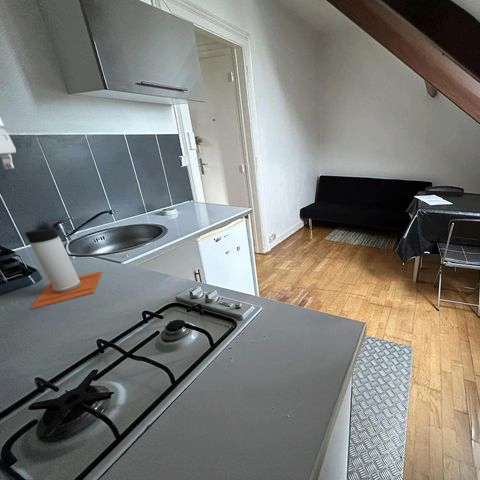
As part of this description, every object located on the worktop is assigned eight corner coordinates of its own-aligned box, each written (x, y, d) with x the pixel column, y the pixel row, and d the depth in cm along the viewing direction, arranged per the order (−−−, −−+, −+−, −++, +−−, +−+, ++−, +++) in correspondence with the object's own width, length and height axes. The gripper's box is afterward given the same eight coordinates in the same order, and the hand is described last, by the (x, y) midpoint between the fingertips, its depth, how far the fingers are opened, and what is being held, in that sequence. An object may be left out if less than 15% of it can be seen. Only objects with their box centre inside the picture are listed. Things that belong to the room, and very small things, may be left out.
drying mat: (31, 309, 73) (30, 307, 73) (49, 284, 86) (48, 283, 85) (94, 292, 79) (93, 291, 79) (102, 272, 92) (101, 270, 92)
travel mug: (49, 295, 78) (16, 233, 71) (62, 284, 84) (33, 226, 77) (73, 291, 80) (44, 230, 72) (85, 281, 86) (59, 223, 78)
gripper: (-18, 122, 81) (4, 168, 86) (-63, 117, 64) (-32, 174, 70) (11, 122, 84) (30, 166, 89) (-25, 117, 67) (1, 172, 72)
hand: (2, 170), depth 79 cm, fingers open, 8 cm apart
